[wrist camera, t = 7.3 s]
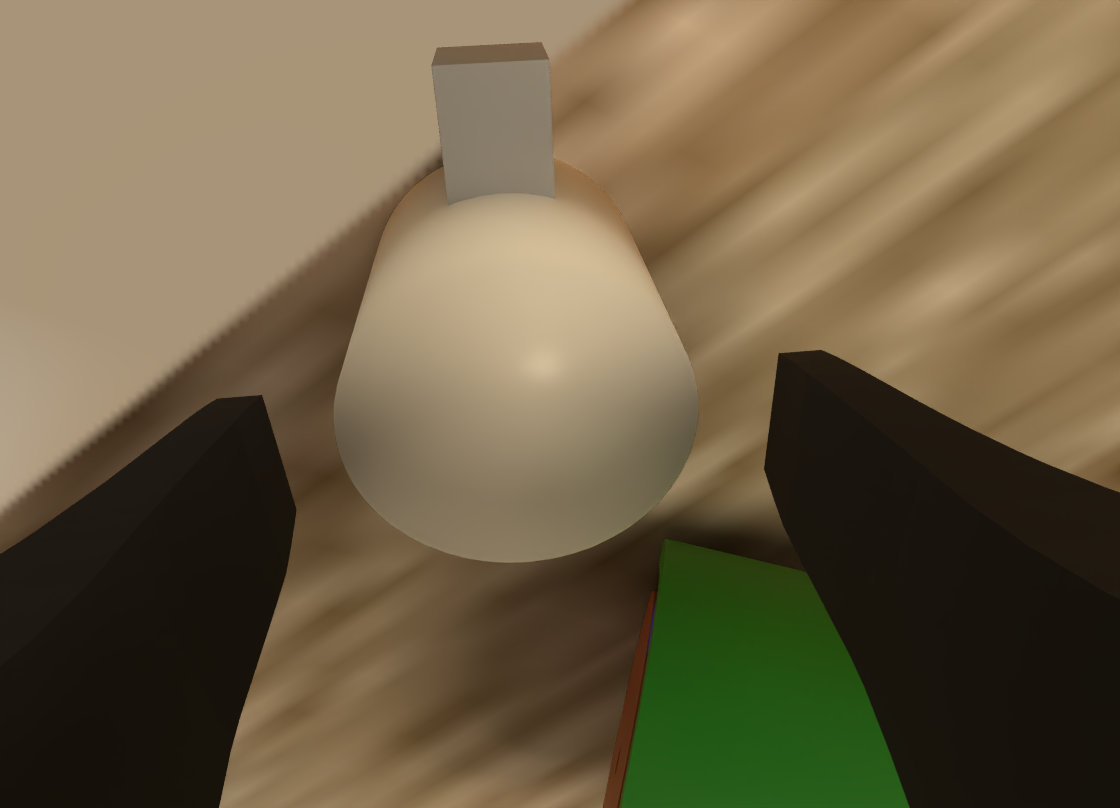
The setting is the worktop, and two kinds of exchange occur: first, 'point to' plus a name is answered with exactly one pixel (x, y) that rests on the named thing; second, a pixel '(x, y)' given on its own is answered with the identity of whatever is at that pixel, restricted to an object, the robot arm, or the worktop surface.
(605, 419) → the cream capsule with tab
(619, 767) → the green vase with flowers
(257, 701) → the worktop surface
